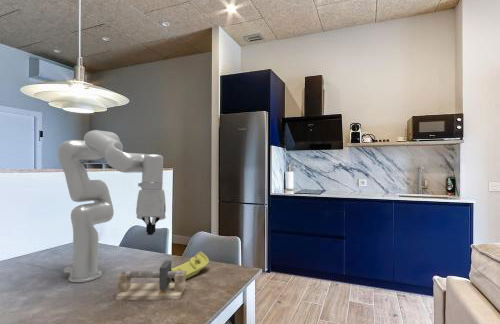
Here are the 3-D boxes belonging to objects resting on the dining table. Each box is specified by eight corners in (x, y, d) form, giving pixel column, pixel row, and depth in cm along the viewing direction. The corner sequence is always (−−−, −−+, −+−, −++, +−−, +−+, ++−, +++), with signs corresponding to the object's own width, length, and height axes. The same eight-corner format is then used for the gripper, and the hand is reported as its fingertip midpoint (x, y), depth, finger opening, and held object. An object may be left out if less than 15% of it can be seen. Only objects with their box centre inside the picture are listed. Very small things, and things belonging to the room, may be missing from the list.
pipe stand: (114, 299, 105) (114, 276, 105) (126, 287, 116) (126, 266, 116) (181, 299, 105) (181, 276, 106) (186, 286, 116) (186, 266, 117)
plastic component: (179, 278, 119) (165, 263, 124) (175, 291, 122) (161, 276, 127) (212, 261, 135) (198, 249, 140) (208, 274, 138) (194, 261, 143)
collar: (159, 289, 107) (159, 267, 107) (164, 280, 115) (165, 260, 115) (165, 289, 107) (166, 267, 107) (171, 280, 115) (171, 260, 115)
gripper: (128, 186, 107) (127, 236, 107) (169, 187, 107) (167, 237, 107) (136, 185, 114) (134, 231, 114) (174, 186, 115) (172, 232, 115)
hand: (150, 234), depth 111 cm, fingers closed
